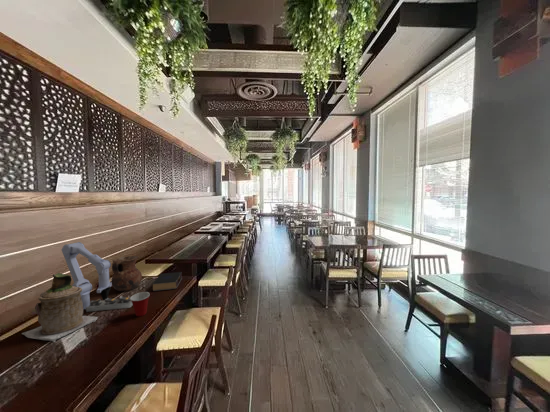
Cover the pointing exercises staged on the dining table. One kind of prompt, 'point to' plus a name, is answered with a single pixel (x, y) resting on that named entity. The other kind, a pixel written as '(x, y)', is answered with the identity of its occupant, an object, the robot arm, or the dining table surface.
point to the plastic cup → (140, 303)
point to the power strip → (109, 305)
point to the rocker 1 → (95, 301)
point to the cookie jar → (59, 310)
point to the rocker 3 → (123, 298)
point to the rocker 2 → (109, 300)
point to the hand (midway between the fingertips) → (105, 299)
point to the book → (167, 281)
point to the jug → (125, 273)
